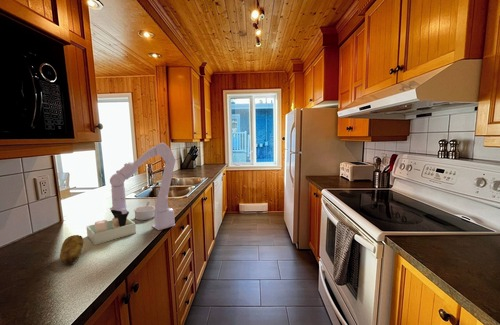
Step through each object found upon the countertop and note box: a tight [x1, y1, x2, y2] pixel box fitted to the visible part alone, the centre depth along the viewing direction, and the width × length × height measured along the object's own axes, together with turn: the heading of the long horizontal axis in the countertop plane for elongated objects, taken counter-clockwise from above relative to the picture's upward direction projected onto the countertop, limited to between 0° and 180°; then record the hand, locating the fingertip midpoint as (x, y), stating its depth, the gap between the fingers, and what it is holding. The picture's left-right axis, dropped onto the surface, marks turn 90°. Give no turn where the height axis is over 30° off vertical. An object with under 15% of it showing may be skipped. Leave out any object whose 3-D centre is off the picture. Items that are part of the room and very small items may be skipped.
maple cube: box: [112, 217, 127, 229], centre depth 111 cm, size 5×5×5 cm
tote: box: [86, 217, 137, 246], centre depth 109 cm, size 17×13×5 cm
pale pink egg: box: [94, 219, 108, 233], centre depth 106 cm, size 5×5×7 cm
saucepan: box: [133, 201, 155, 221], centre depth 136 cm, size 12×20×6 cm, turn 16°
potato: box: [59, 234, 84, 266], centre depth 87 cm, size 8×13×8 cm, turn 13°
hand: (120, 224), depth 112 cm, fingers closed on maple cube, 5 cm apart
